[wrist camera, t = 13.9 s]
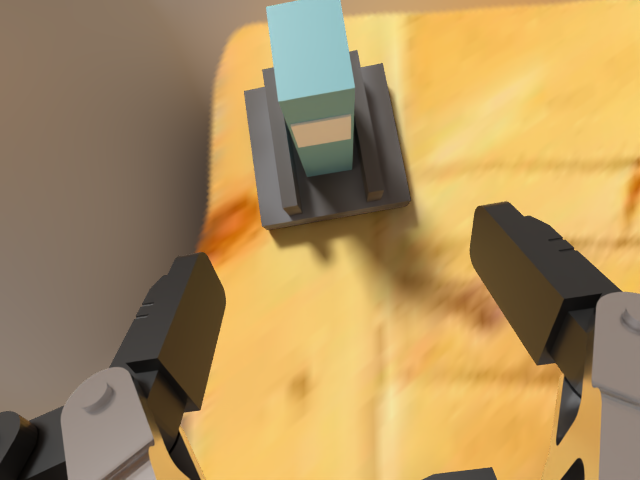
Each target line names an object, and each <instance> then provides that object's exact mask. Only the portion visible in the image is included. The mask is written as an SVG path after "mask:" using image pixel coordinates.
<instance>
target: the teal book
mask: <svg viewBox="0 0 640 480" xmlns="http://www.w3.org/2000/svg"><path fill="white" fill-rule="evenodd" d="M340 2H341V1H340V0H298V1H293V2H288V3H283V4H278V5H273V6H268V7H266V11H267V19H268V27H269V34H270V42H271V50H272V57H273V65H274V73H275V80H276V88H277V96H278V102H279V105H280V107H281V110H282V113H283V115H284V118H285V120H286V123H287V126H288V128H289V131H290V134H291V136H292V139H293V141H294V144H295V147H296V149H297V152H298V154H299V157H300V160H301V162H302V165H303V168H304V170H305V173H306V175H307V177H311V176H317V175H323V174H329V173H335V172H341V171H347V170H352V161H353V132H354V104H355V84H354V78H353V73H352V67H351V61H350V55H349V49H348V43H347V37H346V31H345V25H344V19H343V13H342V7H341V3H340Z"/></svg>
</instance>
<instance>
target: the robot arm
mask: <svg viewBox="0 0 640 480" xmlns="http://www.w3.org/2000/svg"><path fill="white" fill-rule="evenodd" d="M562 238H563V237H562V236H561V235H559V234H558V233H557V232H556V231H555V230H554V229H553V228H552V227H551V226H550V225H548V224H546V223H544V222H542V221H540V220H538V219H536V218H534V217H531V216H523V215H522V214H521V213H520V212H519V211H518V210H517V209H516V208H515V207H514V206H513V205H511V204H510V203H509V202H500V203H494V204H488V205H482V206H478V207H477V208H476V210H475V213H474V220H473V228H472V235H471V243H470V258H471V262H472V265H473V267H474V269H475V270H476V272H477V274H478V275H479V277H480V278H481V280H482V281H483V283H484V284H485V286H486V287H487V289H488V291H489V292H490V294H491V295H492V297H493V298H494V300H495V301H496V303H497V305H498V306H499V308H500V309H501V311H502V312H503V314H504V315H505V317H506V318H507V320H508V322H509V323H510V325H511V326H512V328H513V329H514V331H515V332H516V334H517V336H518V337H519V339H520V340H521V342H522V343H523V345H524V346H525V348H526V349H527V351H528V353H529V354H530V356H531V357H532V359H533V360H534V362H535V363H536V365H544V364H551V363H556V364H557V365H558V367H559V368H560V370H561V371H562V374H561V376H560V379H559V385H558V392H557V399H556V407H555V414H554V421H553V428H552V436H551V443H550V449H549V454H548V458H547V462H546V464H545V467H544V470H543V474H542V478H541V480H640V294H637V293H631V292H622V291H621V290H620V289H619V288H618V287H617V286H616V285H614V284H613V283H612V282H611V281H610V280H609V279H608V278H607V277H606V276H605V275H603V274H602V273H601V272H600V271H599V270H598V269H597V268H596V267H595V266H594V265H592V264H591V263H590V262H589V261H588V260H587V259H586V258H585V257H584V256H583V255H581V254H580V253H579V252H578V251H575V250H574V247H573V246H572V245H570V244H569V243H568V242H567V241H566V240H563V239H562ZM142 305H143V306H142V307H140V309H139V312H138V313H137V315H136V319H134V321H133V323H132V325H131V327H130V329H129V330H128V332H127V334H126V336H125V338H124V340H123V342H122V344H121V346H120V348H119V350H118V352H117V354H116V356H115V358H114V359H113V362H112V363H111V365H110V367H109V368H107V369H105V370H102V371H100V372H97V373H96V374H94V375H92V376H91V377H89V378H88V379H86V380H85V381H84V382H83V383H82V384H81V385H79V386H78V387H77V388H76V390H75V391H74V392H73V393H72V394H71V396H70V397H69V398H68V400H67V402H66V403H65V405H64V406H62V407H60V408H58V409H55V410H53V411H51V412H48V413H46V414H44V415H41V416H39V417H37V418H35V419H32V420H30V421H28V420H26V419H25V418H23V417H22V416H20V415H18V414H17V413H15V412H11V411H6V412H1V413H0V480H206V478H205V476H204V474H203V472H202V470H201V467H200V465H199V463H198V461H197V459H196V457H195V454H194V452H193V450H192V448H191V446H190V443H189V441H188V439H187V437H186V435H185V432H184V430H183V429H182V427H181V426H180V424H181V420H182V417H183V413H184V412H192V411H199V410H201V406H202V401H203V397H204V393H205V389H206V385H207V381H208V377H209V373H210V368H211V364H212V360H213V356H214V352H215V348H216V344H217V340H218V335H219V331H220V327H221V323H222V319H223V315H224V311H225V306H226V297H225V292H224V288H223V286H222V284H221V282H220V280H219V278H218V276H217V274H216V272H215V270H214V268H213V266H212V264H211V262H210V260H209V258H208V256H207V255H206V254H205V253H204V252H200V253H195V254H190V255H183V256H178V257H177V258H176V259H175V260H174V262H173V265H172V267H171V269H170V271H169V273H168V275H164V276H162V277H161V278H160V279H159V280H158V281H157V282H156V283H155V284H154V285H153V286H152V288H151V289H150V290H149V292H148V294H147V296H146V298H145V299H144V302H143V303H142ZM423 480H497V478H496V476H495V473H494V471H493V469H492V467H490V468H482V469H474V470H465V471H457V472H449V473H440V474H433V475H431V476H429V477H427V478H425V479H423Z"/></svg>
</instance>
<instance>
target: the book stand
mask: <svg viewBox="0 0 640 480" xmlns="http://www.w3.org/2000/svg"><path fill="white" fill-rule="evenodd" d="M349 55H350V61H351V67H352V73H353V78H354V84H355V104H354V132H353V161H352V170H347V171H341V172H335V173H329V174H323V175H317V176H311V177H307V175H306V173H305V170H304V168H303V165H302V162H301V160H300V157H299V154H298V152H297V149H296V147H295V144H294V141H293V139H292V136H291V134H290V131H289V128H288V126H287V123H286V120H285V118H284V115H283V113H282V110H281V107H280V105H279V102H278V96H277V88H276V80H275V73H274V67H273V68H268V69H263V70H262V71H263V78H264V85H265V87H262V88H257V89H252V90H247V91H244V95H245V103H246V110H247V118H248V125H249V133H250V140H251V148H252V155H253V163H254V170H255V177H256V185H257V192H258V200H259V207H260V215H261V222H262V227H264V228H265V229H267V230H271V229H277V228H283V227H289V226H294V225H300V224H306V223H312V222H318V221H323V220H329V219H335V218H341V217H346V216H352V215H358V214H364V213H370V212H375V211H381V210H387V209H393V208H398V207H404V206H407V205H408V204H409V202H410V201H411V198H410V194H409V189H408V184H407V179H406V174H405V169H404V164H403V159H402V155H401V150H400V145H399V140H398V135H397V130H396V125H395V121H394V116H393V111H392V106H391V101H390V96H389V91H388V87H387V82H386V77H385V72H384V67H383V63H381V64H376V65H371V66H366V67H360V62H359V56H358V51H357V50H356V51H351V52H349Z"/></svg>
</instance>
